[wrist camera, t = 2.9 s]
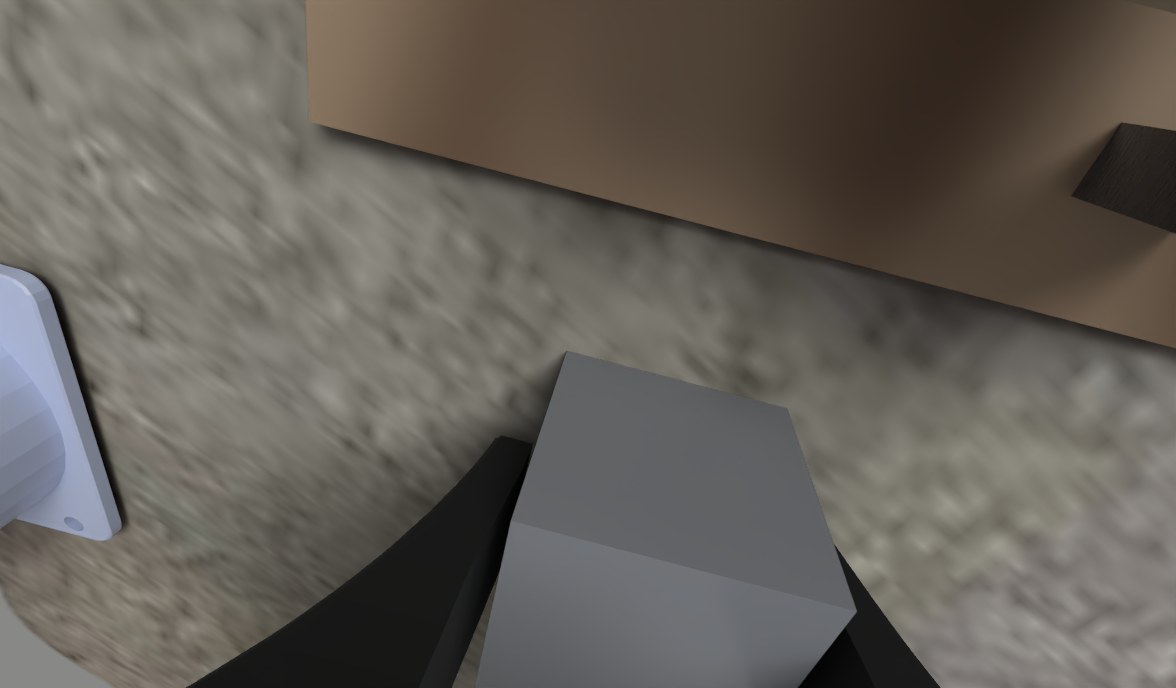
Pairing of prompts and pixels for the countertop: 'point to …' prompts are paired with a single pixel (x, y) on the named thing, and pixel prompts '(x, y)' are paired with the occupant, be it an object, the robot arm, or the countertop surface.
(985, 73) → the frame
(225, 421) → the countertop surface
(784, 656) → the grey cube
